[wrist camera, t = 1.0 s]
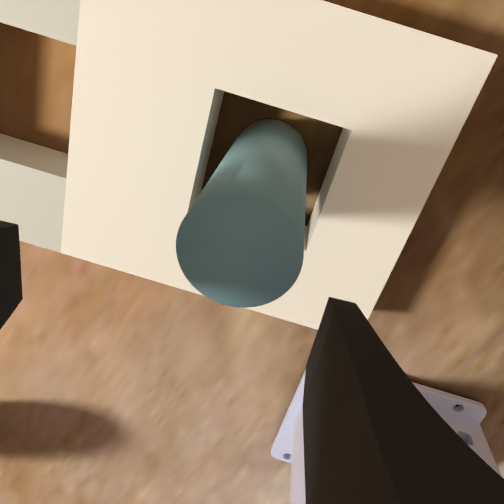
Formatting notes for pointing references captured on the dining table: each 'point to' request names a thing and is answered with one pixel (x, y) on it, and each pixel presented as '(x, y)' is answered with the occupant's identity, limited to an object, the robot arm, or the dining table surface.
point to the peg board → (205, 121)
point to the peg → (249, 219)
